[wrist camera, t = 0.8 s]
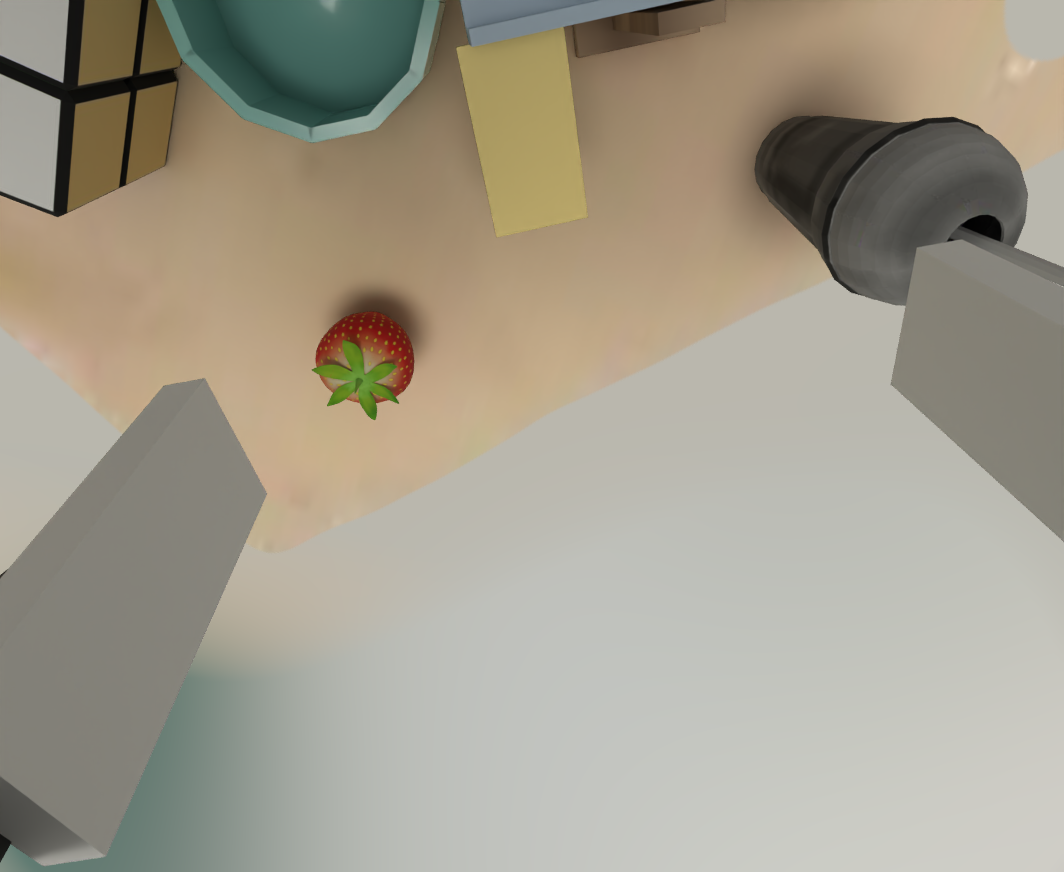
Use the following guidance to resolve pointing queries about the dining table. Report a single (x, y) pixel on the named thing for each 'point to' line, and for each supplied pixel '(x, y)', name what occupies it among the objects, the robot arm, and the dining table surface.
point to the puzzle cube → (82, 98)
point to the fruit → (365, 360)
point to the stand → (646, 25)
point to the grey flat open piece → (528, 105)
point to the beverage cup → (895, 195)
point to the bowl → (308, 58)
